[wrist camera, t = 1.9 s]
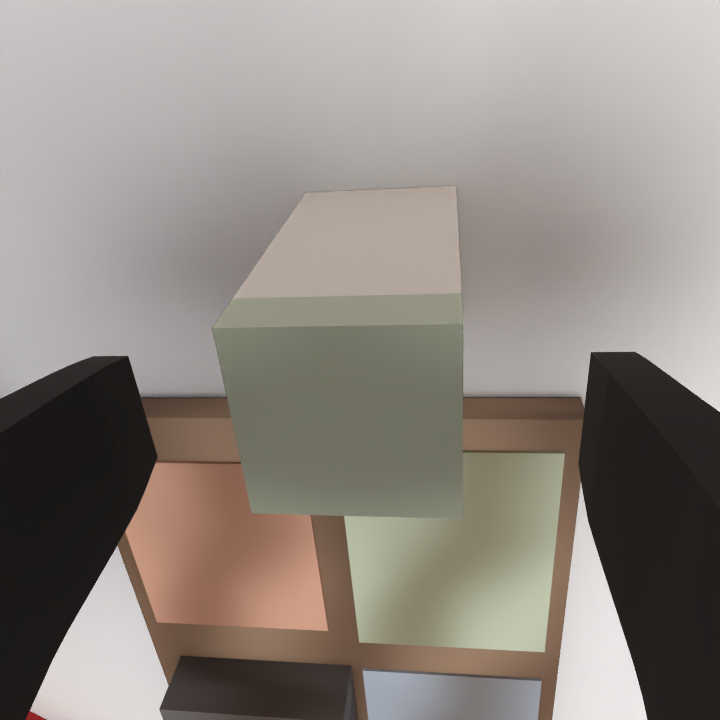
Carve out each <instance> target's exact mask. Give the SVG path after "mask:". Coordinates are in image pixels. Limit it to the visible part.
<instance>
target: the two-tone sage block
mask: <svg viewBox="0 0 720 720" xmlns="http://www.w3.org/2000/svg"><path fill="white" fill-rule="evenodd" d="M212 330H213V335H214V340H215V344H216V349H217V354H218V358H219V363H220V368H221V372H222V377H223V382H224V386H225V391H226V396H227V400H228V405H229V410H230V414H231V419H232V424H233V428H234V433H235V437H236V442H237V447H238V451H239V456H240V461H241V465H242V470H243V475H244V479H245V484H246V489H247V493H248V498H249V503H250V507H251V512H252V513H253V514H292V515H331V516H370V517H409V518H448V519H462V516H463V311H462V292H461V272H460V252H459V233H458V213H457V193H456V186H436V187H415V188H393V189H371V190H350V191H328V192H306V193H305V194H304V196H303V197H302V199H301V200H300V202H299V203H298V205H297V206H296V207H295V209H294V210H293V212H292V213H291V215H290V216H289V218H288V219H287V220H286V222H285V223H284V225H283V226H282V228H281V229H280V231H279V232H278V233H277V235H276V236H275V238H274V239H273V241H272V242H271V244H270V245H269V246H268V248H267V249H266V251H265V252H264V254H263V255H262V257H261V258H260V259H259V261H258V262H257V264H256V265H255V267H254V268H253V270H252V271H251V272H250V274H249V275H248V277H247V278H246V280H245V281H244V283H243V284H242V285H241V287H240V288H239V290H238V291H237V293H236V294H235V296H234V297H233V298H232V300H231V301H230V303H229V304H228V306H227V307H226V309H225V310H224V311H223V313H222V314H221V316H220V317H219V319H218V320H217V322H216V323H215V324H214V326H213V327H212Z"/></svg>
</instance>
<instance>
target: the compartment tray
mask: <svg viewBox="0 0 720 720" xmlns="http://www.w3.org/2000/svg"><path fill="white" fill-rule="evenodd" d="M141 401H142V405H143V408H144V411H145V415H146V418H147V422H148V425H149V428H150V432H151V435H152V439H153V442H154V445H155V449H156V452H157V456H158V458H157V460H156V463H155V466H154V469H153V471H152V474H151V477H150V479H149V482H148V485H147V487H146V490H145V492H144V495H143V497H142V499H141V502H140V504H139V506H138V509H137V511H136V513H135V514H134V516H133V518H132V520H131V522H130V524H129V525H128V527H127V529H126V531H125V532H124V534H123V536H122V538H121V540H120V541H119V543H118V548H119V550H120V553H121V556H122V559H123V561H124V564H125V567H126V570H127V572H128V575H129V578H130V581H131V583H132V586H133V589H134V592H135V594H136V597H137V600H138V603H139V605H140V608H141V611H142V614H143V616H144V619H145V622H146V625H147V627H148V630H149V633H150V636H151V638H152V641H153V644H154V647H155V649H156V652H157V655H158V658H159V660H160V663H161V666H162V668H163V671H164V674H165V677H166V679H167V682H168V685H169V687H168V689H167V692H166V694H165V697H164V699H163V702H162V704H161V707H160V709H159V710H160V712H161V715H162V717H163V720H552V715H553V706H554V698H555V690H556V682H557V673H558V665H559V657H560V649H561V640H562V632H563V624H564V615H565V607H566V599H567V591H568V582H569V574H570V566H571V558H572V549H573V541H574V533H575V524H576V516H577V508H578V500H579V491H580V483H581V477H580V471H579V465H578V461H579V452H580V443H581V435H582V426H583V418H584V406H583V403H582V400H581V398H463V516H462V519H448V518H409V517H370V516H331V515H292V514H253V513H252V512H251V507H250V503H249V498H248V493H247V489H246V484H245V479H244V475H243V470H242V465H241V461H240V456H239V451H238V447H237V442H236V437H235V433H234V428H233V424H232V419H231V414H230V410H229V405H228V400H227V398H141Z"/></svg>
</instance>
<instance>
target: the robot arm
mask: <svg viewBox="0 0 720 720" xmlns="http://www.w3.org/2000/svg"><path fill="white" fill-rule="evenodd" d="M157 458H158V456H157V452H156V449H155V445H154V442H153V439H152V435H151V432H150V428H149V425H148V422H147V418H146V415H145V411H144V408H143V405H142V401H141V398H140V395H139V391H138V388H137V384H136V381H135V378H134V374H133V371H132V367H131V364H130V361H129V357H128V356H93V357H90V358H88V359H85V360H82V361H79V362H77V363H74V364H72V365H70V366H67V367H65V368H63V369H61V370H58V371H56V372H54V373H52V374H50V375H48V376H46V377H44V378H42V379H40V380H37V381H35V382H33V383H31V384H29V385H27V386H25V387H23V388H21V389H19V390H17V391H15V392H13V393H11V394H9V395H7V396H5V397H3V398H1V399H0V720H26V718H27V715H28V713H29V711H30V709H31V707H32V704H33V702H34V700H35V698H36V695H37V693H38V691H39V689H40V687H41V684H42V682H43V680H44V678H45V675H46V673H47V671H48V669H49V667H50V664H51V662H52V660H53V658H54V656H55V654H56V652H57V650H58V648H59V647H60V645H61V643H62V641H63V639H64V637H65V635H66V633H67V631H68V629H69V628H70V626H71V624H72V623H73V621H74V619H75V617H76V616H77V614H78V612H79V610H80V609H81V607H82V605H83V604H84V602H85V600H86V598H87V597H88V595H89V593H90V592H91V590H92V588H93V586H94V585H95V583H96V581H97V579H98V578H99V576H100V574H101V573H102V571H103V569H104V567H105V566H106V564H107V562H108V561H109V559H110V557H111V555H112V554H113V552H114V550H115V548H116V547H117V545H118V543H119V541H120V540H121V538H122V536H123V534H124V532H125V531H126V529H127V527H128V525H129V524H130V522H131V520H132V518H133V516H134V514H135V513H136V511H137V509H138V506H139V504H140V502H141V499H142V497H143V495H144V492H145V490H146V487H147V485H148V482H149V479H150V477H151V474H152V471H153V469H154V466H155V463H156V460H157ZM578 465H579V471H580V477H581V483H582V489H583V495H584V501H585V506H586V511H587V517H588V522H589V525H590V528H591V532H592V535H593V538H594V541H595V545H596V548H597V551H598V554H599V557H600V561H601V564H602V567H603V570H604V573H605V576H606V579H607V582H608V586H609V589H610V592H611V595H612V598H613V601H614V604H615V607H616V610H617V613H618V617H619V620H620V623H621V626H622V629H623V632H624V635H625V638H626V641H627V645H628V648H629V651H630V654H631V657H632V660H633V663H634V667H635V671H636V674H637V678H638V682H639V685H640V689H641V693H642V696H643V701H644V705H645V710H646V715H647V719H648V720H720V412H719V411H717V410H716V409H715V408H713V407H712V406H710V405H709V404H708V403H706V402H705V401H703V400H702V399H701V398H699V397H698V396H697V395H695V394H694V393H692V392H691V391H690V390H688V389H687V388H686V387H684V386H683V385H682V384H680V383H679V382H677V381H676V380H675V379H673V378H672V377H671V376H669V375H668V374H667V373H665V372H664V371H663V370H661V369H660V368H658V367H657V366H656V365H654V364H653V363H651V362H650V361H649V360H647V359H646V358H644V357H643V356H641V355H639V354H638V353H636V352H591V358H590V366H589V375H588V383H587V392H586V400H585V409H584V418H583V426H582V435H581V443H580V452H579V461H578Z"/></svg>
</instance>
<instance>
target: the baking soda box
mask: <svg viewBox="0 0 720 720" xmlns="http://www.w3.org/2000/svg"><path fill="white" fill-rule="evenodd" d="M26 720H46V719H44V718H42V717H40V716H38V715H36V714H34V713H32V712H30V711H29V713H28V715H27V718H26Z"/></svg>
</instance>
